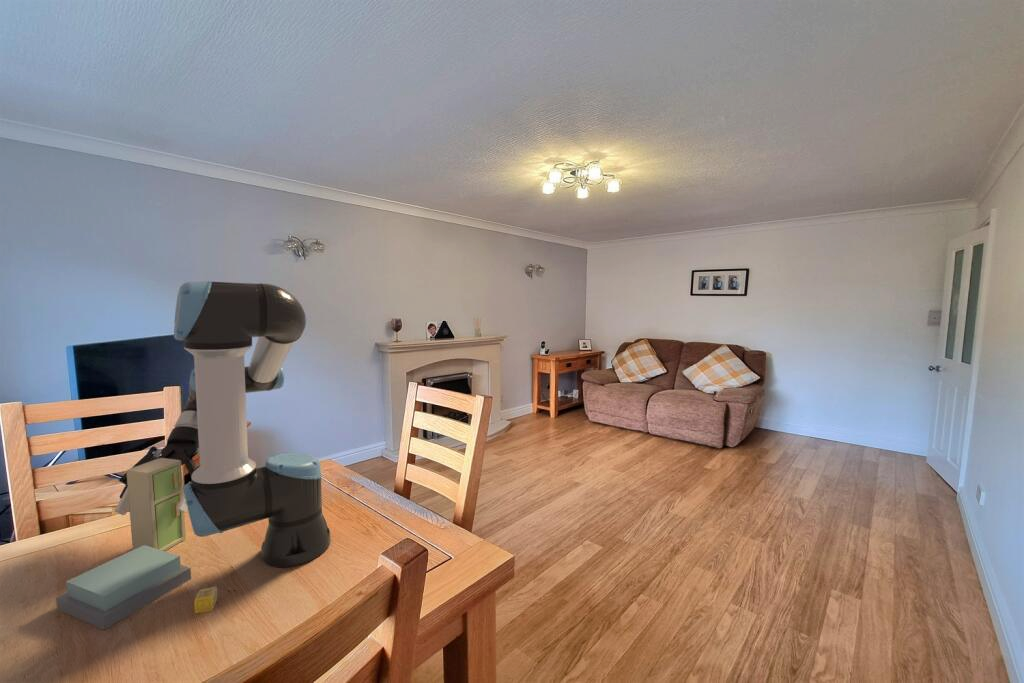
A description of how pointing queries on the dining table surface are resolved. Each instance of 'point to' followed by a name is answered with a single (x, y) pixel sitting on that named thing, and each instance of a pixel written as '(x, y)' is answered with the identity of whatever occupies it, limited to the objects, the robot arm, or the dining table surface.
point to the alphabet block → (205, 599)
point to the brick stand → (122, 586)
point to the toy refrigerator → (156, 504)
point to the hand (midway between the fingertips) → (150, 512)
